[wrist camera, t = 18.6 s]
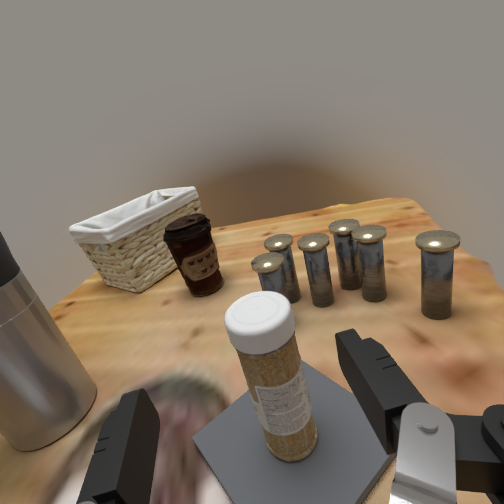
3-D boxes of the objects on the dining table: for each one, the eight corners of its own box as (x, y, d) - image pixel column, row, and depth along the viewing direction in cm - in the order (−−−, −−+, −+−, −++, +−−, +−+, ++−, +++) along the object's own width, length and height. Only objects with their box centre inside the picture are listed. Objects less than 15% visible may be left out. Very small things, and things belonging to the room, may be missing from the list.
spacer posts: (249, 316, 44) (231, 258, 40) (322, 265, 51) (313, 213, 47) (385, 400, 27) (378, 316, 23) (462, 308, 35) (467, 233, 31)
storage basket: (136, 300, 57) (101, 229, 51) (95, 288, 67) (63, 227, 61) (217, 243, 73) (199, 184, 67) (175, 240, 83) (155, 188, 77)
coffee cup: (239, 282, 53) (218, 213, 48) (200, 306, 49) (173, 234, 44) (213, 270, 60) (193, 209, 54) (177, 291, 56) (151, 227, 50)
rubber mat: (195, 444, 28) (191, 437, 27) (293, 360, 34) (291, 353, 34) (293, 597, 18) (290, 590, 17) (408, 438, 24) (407, 430, 24)
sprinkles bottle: (267, 413, 28) (228, 293, 22) (316, 409, 27) (289, 284, 21) (264, 466, 24) (216, 335, 18) (322, 464, 23) (291, 326, 17)
